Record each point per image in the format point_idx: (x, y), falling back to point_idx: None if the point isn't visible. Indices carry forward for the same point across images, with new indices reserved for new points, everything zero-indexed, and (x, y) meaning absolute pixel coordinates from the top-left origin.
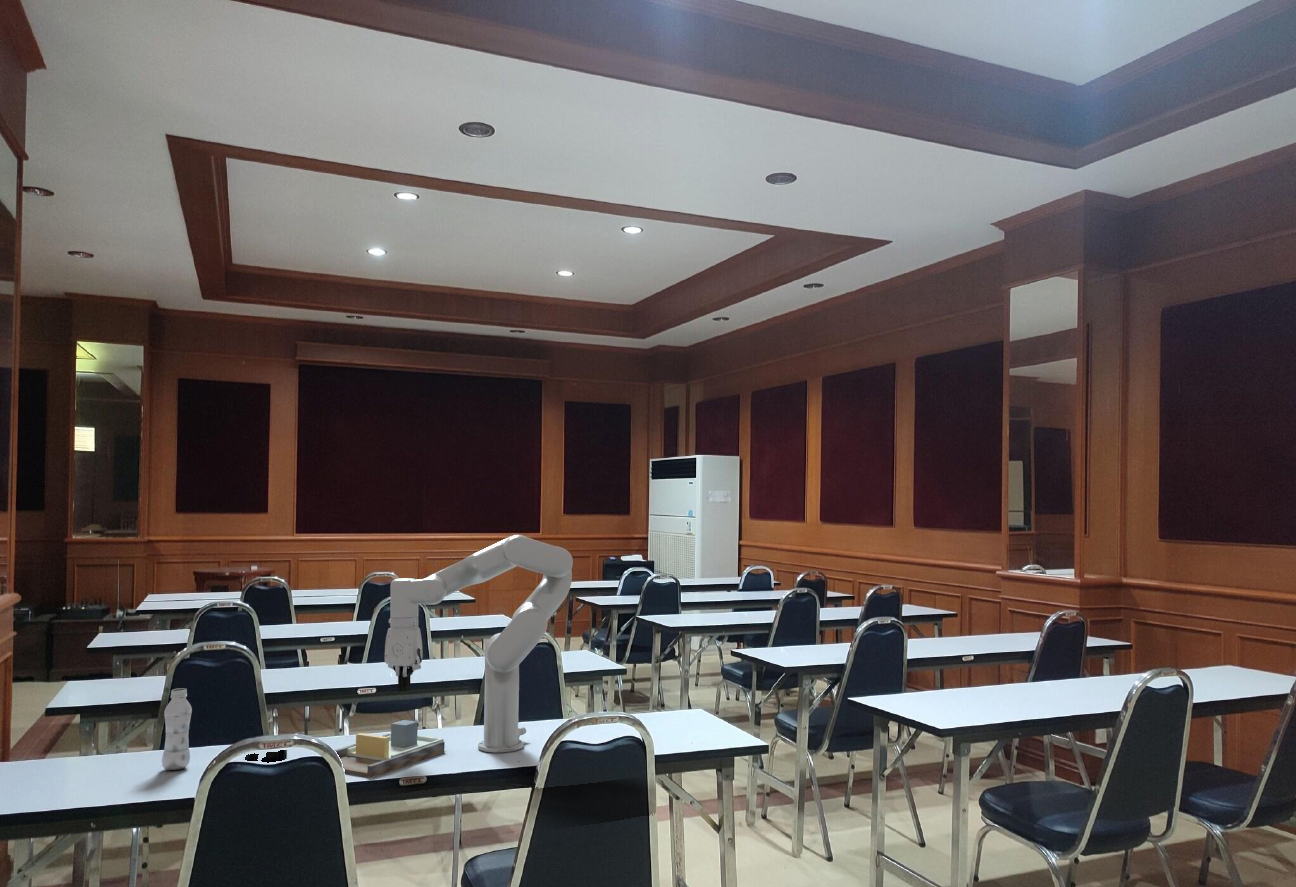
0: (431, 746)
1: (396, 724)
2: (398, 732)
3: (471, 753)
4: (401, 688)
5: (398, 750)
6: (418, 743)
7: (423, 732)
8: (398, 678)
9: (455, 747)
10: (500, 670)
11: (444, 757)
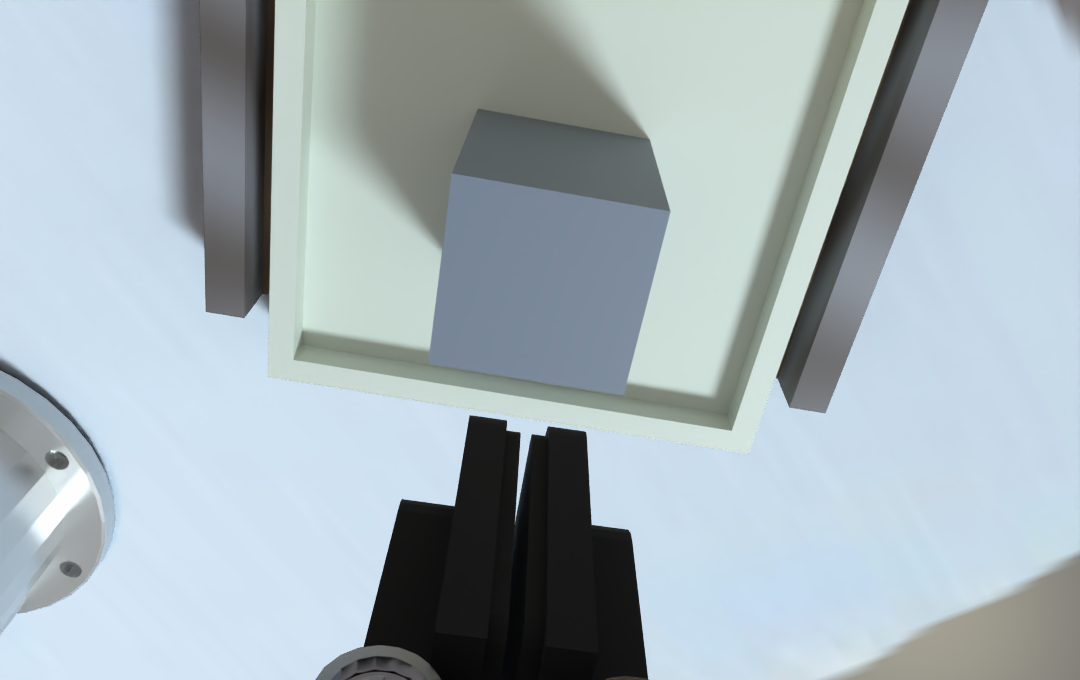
0: (204, 141)
1: (587, 194)
2: (555, 162)
3: (20, 295)
4: (491, 442)
5: (479, 2)
6: None
7: (704, 663)
8: (581, 610)
9: (250, 406)
10: None
11: (119, 127)
